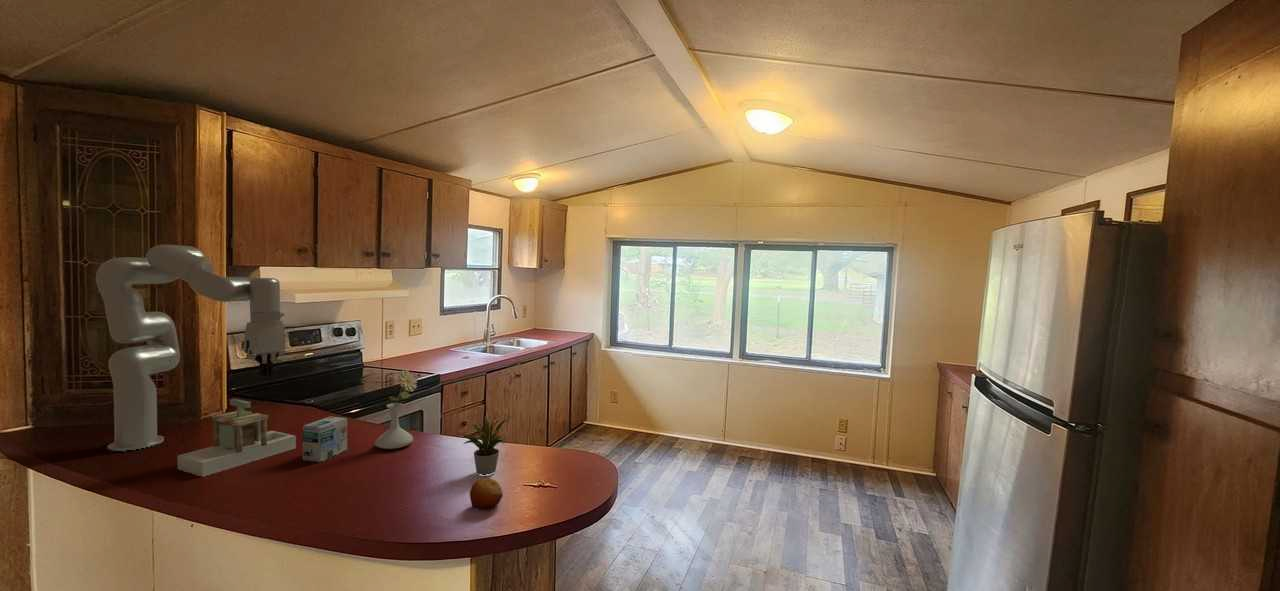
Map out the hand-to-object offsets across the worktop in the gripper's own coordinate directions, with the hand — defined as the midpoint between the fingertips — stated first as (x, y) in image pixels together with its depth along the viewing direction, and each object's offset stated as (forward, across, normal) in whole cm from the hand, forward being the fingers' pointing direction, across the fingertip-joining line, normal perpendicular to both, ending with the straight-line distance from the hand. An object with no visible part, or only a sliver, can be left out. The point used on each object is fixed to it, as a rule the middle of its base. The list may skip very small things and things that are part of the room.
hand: (266, 375), depth 154 cm
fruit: (+26, +1, +86) cm, 90 cm away
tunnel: (+20, +7, -1) cm, 21 cm away
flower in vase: (+25, -21, +31) cm, 45 cm away
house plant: (+26, -17, +72) cm, 79 cm away
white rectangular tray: (+24, +7, -1) cm, 25 cm away
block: (+20, +7, -1) cm, 21 cm away
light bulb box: (+25, -5, +19) cm, 32 cm away
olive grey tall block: (+20, +7, -1) cm, 21 cm away
